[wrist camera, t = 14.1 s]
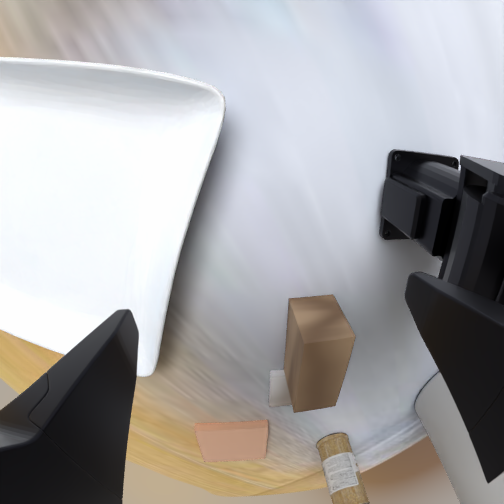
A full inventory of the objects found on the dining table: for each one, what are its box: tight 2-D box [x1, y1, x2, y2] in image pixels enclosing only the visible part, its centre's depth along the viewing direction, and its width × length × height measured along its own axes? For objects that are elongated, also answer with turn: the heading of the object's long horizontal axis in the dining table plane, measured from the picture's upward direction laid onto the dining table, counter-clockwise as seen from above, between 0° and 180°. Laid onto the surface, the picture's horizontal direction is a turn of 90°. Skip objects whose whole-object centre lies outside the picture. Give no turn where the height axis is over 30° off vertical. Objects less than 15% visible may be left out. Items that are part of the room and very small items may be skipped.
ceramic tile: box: [195, 420, 268, 462], centre depth 32 cm, size 8×2×9 cm
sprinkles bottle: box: [317, 433, 370, 504], centre depth 29 cm, size 5×5×13 cm
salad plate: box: [0, 57, 226, 377], centre depth 16 cm, size 21×21×3 cm
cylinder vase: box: [415, 371, 504, 504], centre depth 22 cm, size 12×12×25 cm
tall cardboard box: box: [269, 294, 356, 413], centre depth 24 cm, size 6×13×5 cm, turn 1°
